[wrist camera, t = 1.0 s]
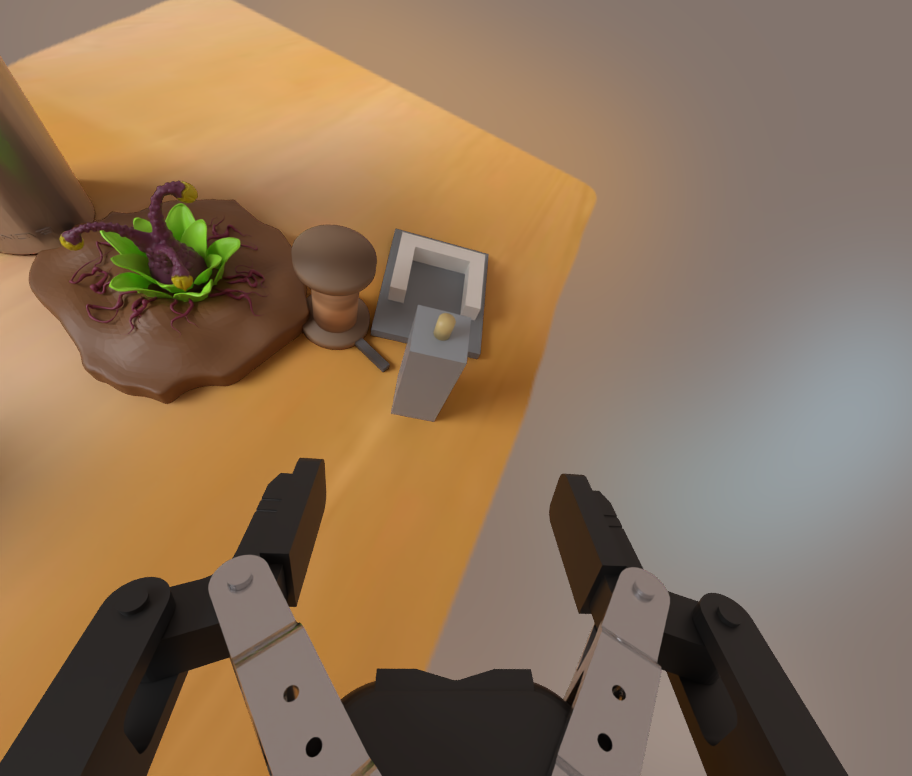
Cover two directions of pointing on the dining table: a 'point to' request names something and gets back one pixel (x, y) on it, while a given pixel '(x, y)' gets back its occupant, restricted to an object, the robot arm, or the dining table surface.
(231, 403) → the dining table surface
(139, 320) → the plant
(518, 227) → the dining table surface
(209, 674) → the dining table surface
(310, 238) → the bobbin
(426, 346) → the gray block with knob
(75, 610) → the dining table surface
